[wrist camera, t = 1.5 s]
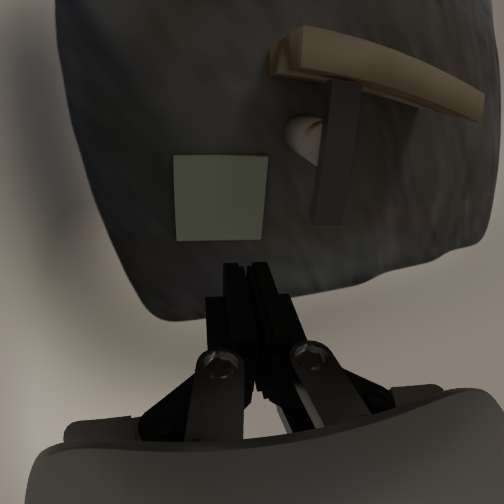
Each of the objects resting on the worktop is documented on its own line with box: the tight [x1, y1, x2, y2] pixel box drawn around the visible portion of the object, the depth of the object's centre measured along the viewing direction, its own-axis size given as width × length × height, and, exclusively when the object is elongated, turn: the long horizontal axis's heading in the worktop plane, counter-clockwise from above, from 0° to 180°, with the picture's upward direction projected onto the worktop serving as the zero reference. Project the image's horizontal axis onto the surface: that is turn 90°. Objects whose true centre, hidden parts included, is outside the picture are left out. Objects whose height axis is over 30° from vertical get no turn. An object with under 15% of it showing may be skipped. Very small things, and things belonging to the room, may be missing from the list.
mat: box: [173, 155, 268, 241], centre depth 29 cm, size 9×9×1 cm
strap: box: [309, 79, 362, 225], centre depth 20 cm, size 11×2×1 cm, turn 176°
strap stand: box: [268, 25, 485, 124], centre depth 20 cm, size 3×18×10 cm, turn 86°
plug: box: [284, 115, 323, 167], centre depth 24 cm, size 4×4×7 cm
